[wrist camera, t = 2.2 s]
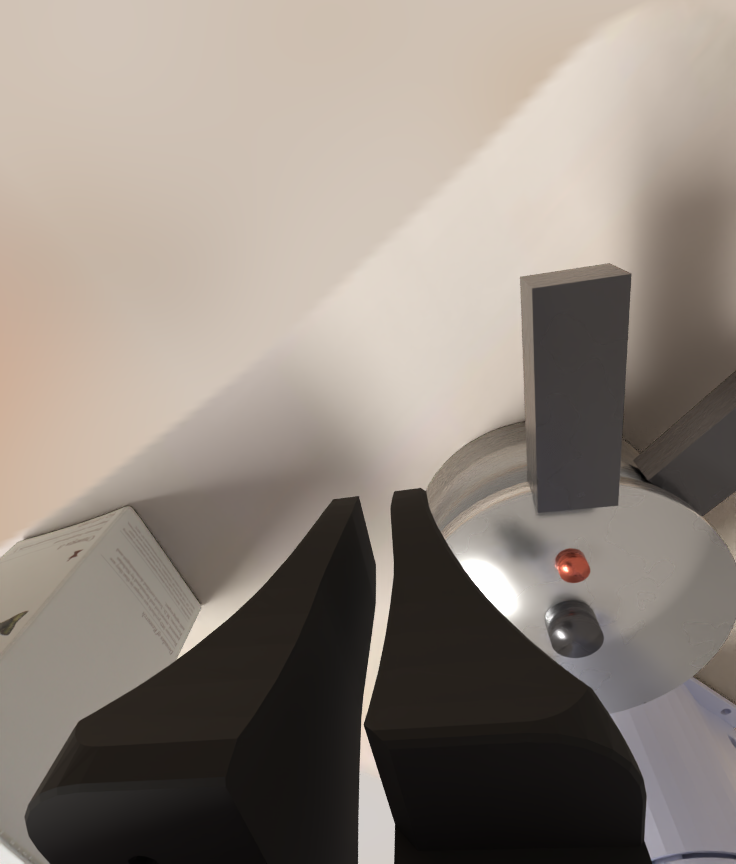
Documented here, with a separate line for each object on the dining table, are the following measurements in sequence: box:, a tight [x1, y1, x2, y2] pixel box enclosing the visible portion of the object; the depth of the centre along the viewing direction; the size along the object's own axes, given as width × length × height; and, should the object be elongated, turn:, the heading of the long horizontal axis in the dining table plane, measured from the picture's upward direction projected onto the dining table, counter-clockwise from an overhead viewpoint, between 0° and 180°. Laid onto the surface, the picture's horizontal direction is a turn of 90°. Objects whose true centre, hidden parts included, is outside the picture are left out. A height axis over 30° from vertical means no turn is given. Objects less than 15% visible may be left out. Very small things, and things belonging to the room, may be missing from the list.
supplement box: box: [0, 506, 201, 864], centre depth 22 cm, size 7×7×13 cm
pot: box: [426, 371, 736, 532], centre depth 21 cm, size 11×18×4 cm, turn 144°
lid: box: [441, 263, 736, 714], centre depth 18 cm, size 18×12×2 cm, turn 10°
